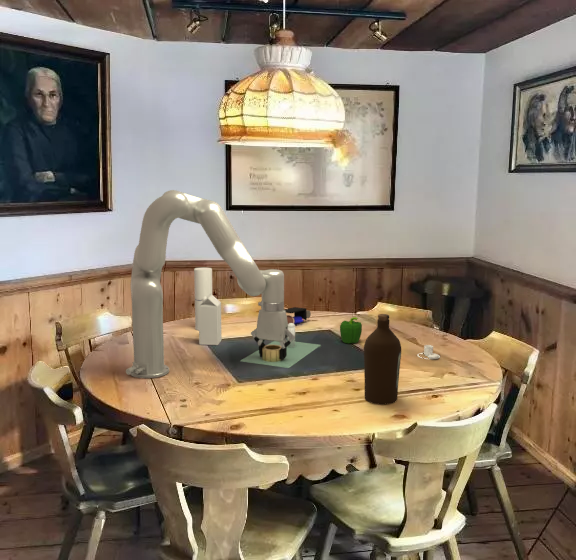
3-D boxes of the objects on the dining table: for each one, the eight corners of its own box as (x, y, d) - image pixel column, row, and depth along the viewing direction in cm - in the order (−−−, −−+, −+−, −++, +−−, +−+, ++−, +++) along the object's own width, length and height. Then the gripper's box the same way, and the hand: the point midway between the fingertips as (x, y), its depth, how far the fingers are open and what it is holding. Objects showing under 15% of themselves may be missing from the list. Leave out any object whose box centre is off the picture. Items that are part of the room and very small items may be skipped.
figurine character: (297, 323, 280) (277, 326, 267) (298, 305, 279) (279, 308, 266) (310, 325, 276) (291, 328, 263) (312, 307, 275) (292, 310, 263)
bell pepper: (334, 341, 245) (335, 316, 243) (349, 338, 250) (350, 313, 249) (350, 346, 239) (351, 320, 237) (365, 342, 244) (366, 317, 242)
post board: (288, 372, 209) (288, 341, 207) (239, 365, 216) (239, 335, 214) (321, 348, 236) (321, 321, 234) (276, 343, 243) (276, 316, 241)
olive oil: (365, 406, 180) (368, 319, 175) (359, 392, 190) (361, 310, 186) (403, 405, 180) (406, 319, 176) (394, 392, 191) (398, 310, 186)
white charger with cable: (440, 361, 222) (440, 350, 222) (417, 360, 224) (417, 349, 223) (439, 354, 231) (440, 343, 230) (417, 353, 232) (417, 342, 232)
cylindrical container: (193, 327, 265) (192, 268, 260) (209, 326, 268) (208, 267, 263) (198, 331, 258) (197, 270, 254) (215, 330, 261) (214, 269, 257)
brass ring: (277, 362, 214) (277, 351, 213) (258, 360, 216) (258, 348, 216) (286, 357, 220) (286, 346, 219) (267, 354, 223) (267, 343, 222)
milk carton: (221, 340, 246) (221, 292, 242) (217, 345, 239) (217, 295, 235) (203, 340, 246) (202, 291, 243) (199, 345, 240) (198, 295, 236)
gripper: (244, 306, 215) (244, 357, 218) (292, 311, 208) (291, 363, 211) (254, 302, 222) (254, 351, 225) (300, 306, 215) (300, 357, 218)
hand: (272, 357), depth 218 cm, fingers closed on brass ring, 7 cm apart
